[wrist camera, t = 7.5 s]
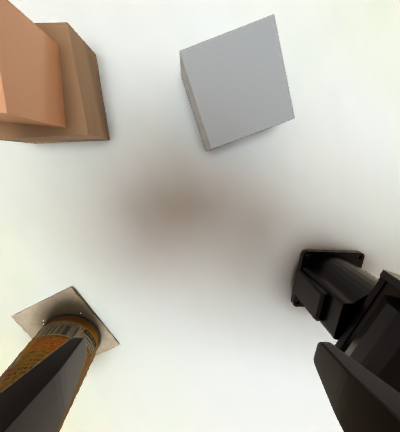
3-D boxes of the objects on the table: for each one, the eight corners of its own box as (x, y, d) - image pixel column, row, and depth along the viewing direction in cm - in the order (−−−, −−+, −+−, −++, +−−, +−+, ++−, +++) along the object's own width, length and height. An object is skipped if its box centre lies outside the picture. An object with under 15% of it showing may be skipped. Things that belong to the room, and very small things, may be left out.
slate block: (252, 48, 16) (274, 14, 12) (271, 127, 18) (294, 118, 14) (181, 76, 16) (179, 50, 12) (205, 151, 18) (211, 149, 14)
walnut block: (96, 56, 16) (67, 22, 12) (110, 140, 17) (88, 134, 13) (15, 58, 15) (-43, 25, 11) (36, 143, 17) (-8, 139, 13)
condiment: (64, 368, 23) (-56, 576, 12) (12, 315, 21) (-201, 507, 9) (120, 343, 23) (51, 533, 11) (73, 284, 20) (-74, 449, 9)
